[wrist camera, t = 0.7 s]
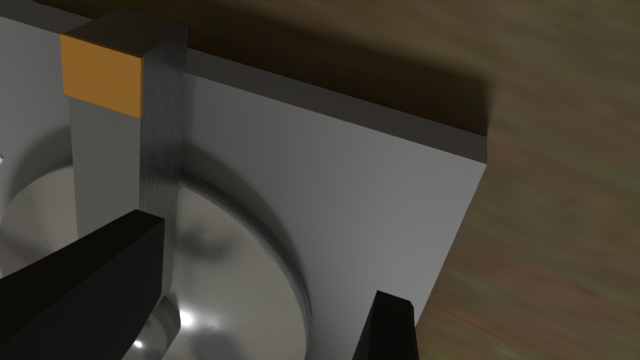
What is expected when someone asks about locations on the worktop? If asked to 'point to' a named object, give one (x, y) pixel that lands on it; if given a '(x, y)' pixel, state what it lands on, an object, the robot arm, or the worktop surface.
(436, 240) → the dial plate
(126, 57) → the dial
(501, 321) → the worktop surface
